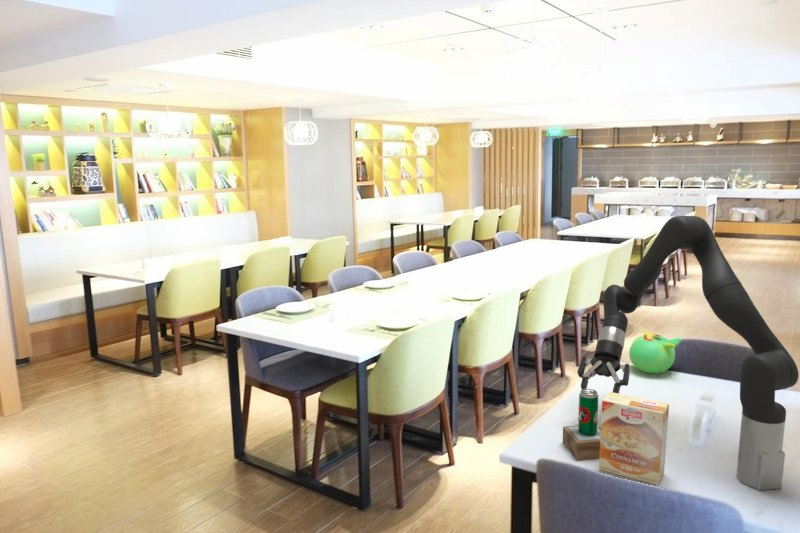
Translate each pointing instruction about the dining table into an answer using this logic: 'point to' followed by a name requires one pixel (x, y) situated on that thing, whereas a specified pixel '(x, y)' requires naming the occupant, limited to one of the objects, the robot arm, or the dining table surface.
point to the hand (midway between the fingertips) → (598, 393)
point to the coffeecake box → (633, 437)
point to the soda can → (588, 412)
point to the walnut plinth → (582, 443)
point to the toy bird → (653, 353)
